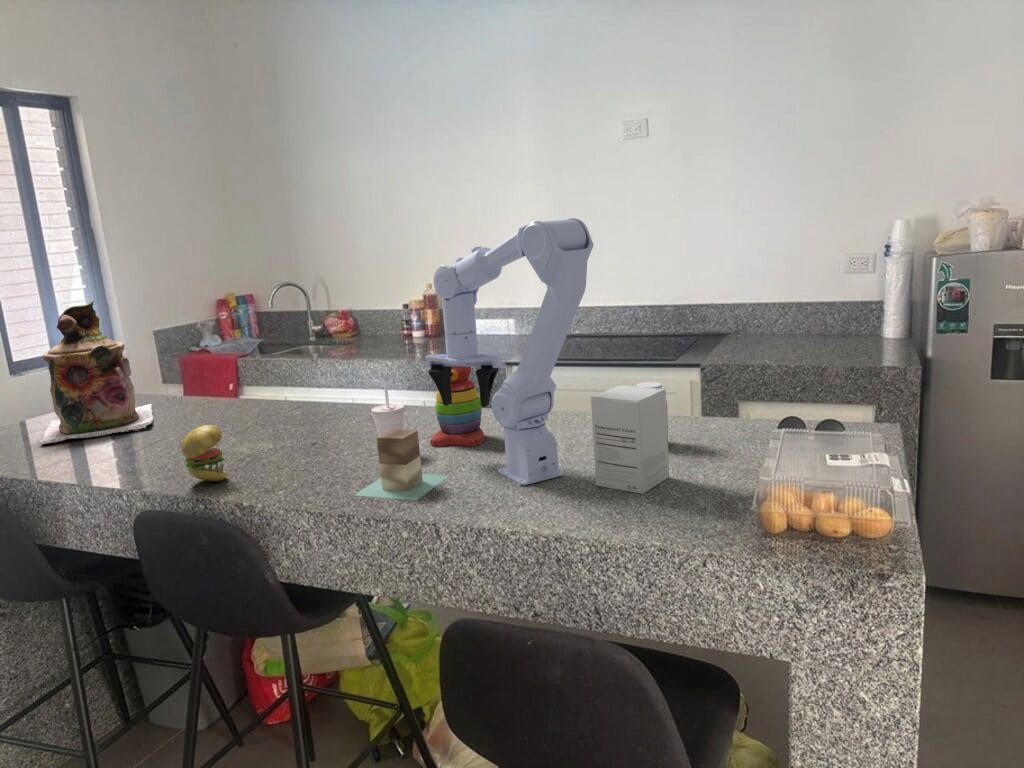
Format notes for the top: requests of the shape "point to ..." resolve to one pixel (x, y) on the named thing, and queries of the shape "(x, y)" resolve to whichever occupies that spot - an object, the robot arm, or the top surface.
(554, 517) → the top surface
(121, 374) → the cookie jar
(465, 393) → the stacking bear
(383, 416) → the smoothie
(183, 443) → the hamburger
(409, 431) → the walnut block
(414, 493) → the mat
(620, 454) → the supplement box
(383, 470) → the maple block
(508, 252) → the robot arm
